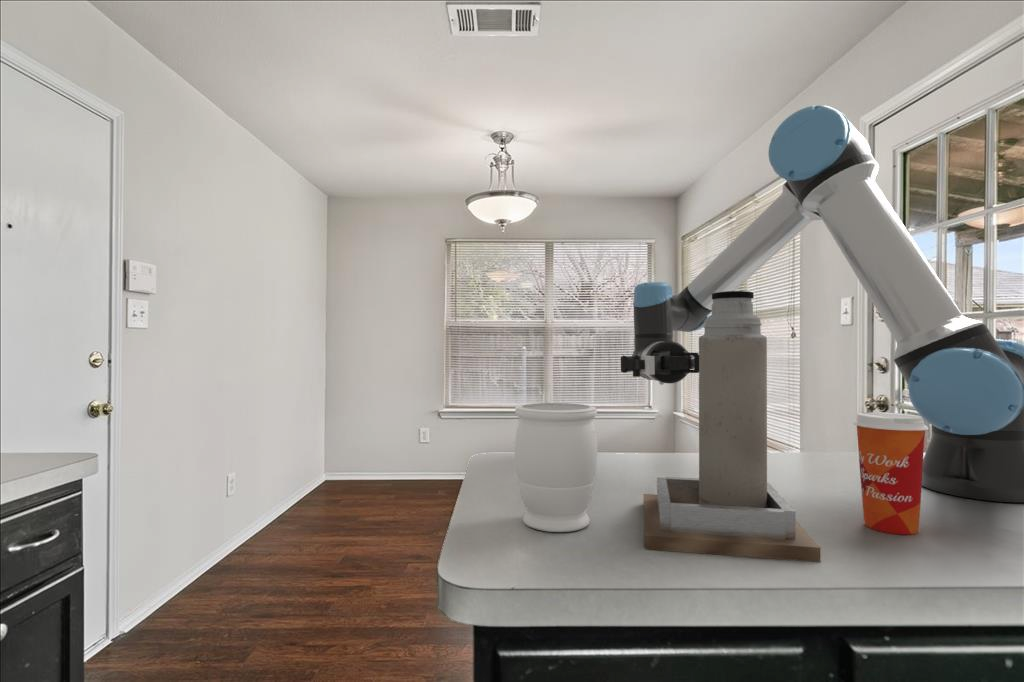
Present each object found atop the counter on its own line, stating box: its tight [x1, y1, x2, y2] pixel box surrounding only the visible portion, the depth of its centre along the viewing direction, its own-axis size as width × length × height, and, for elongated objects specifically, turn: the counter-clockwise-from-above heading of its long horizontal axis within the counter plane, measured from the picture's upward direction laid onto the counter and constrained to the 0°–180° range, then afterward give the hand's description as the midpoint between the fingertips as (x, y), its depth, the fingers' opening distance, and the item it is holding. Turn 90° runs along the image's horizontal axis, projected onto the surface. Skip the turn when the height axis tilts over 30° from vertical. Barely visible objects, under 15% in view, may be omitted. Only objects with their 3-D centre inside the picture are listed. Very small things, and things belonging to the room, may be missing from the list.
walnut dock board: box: [643, 493, 822, 563], centre depth 70 cm, size 18×18×2 cm
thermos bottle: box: [698, 290, 768, 508], centre depth 71 cm, size 8×8×28 cm
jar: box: [514, 402, 599, 533], centre depth 72 cm, size 11×10×15 cm
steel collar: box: [656, 476, 797, 540], centre depth 70 cm, size 14×14×3 cm
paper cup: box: [853, 411, 929, 536], centre depth 70 cm, size 8×8×14 cm
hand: (699, 364), depth 81 cm, fingers open, 13 cm apart
